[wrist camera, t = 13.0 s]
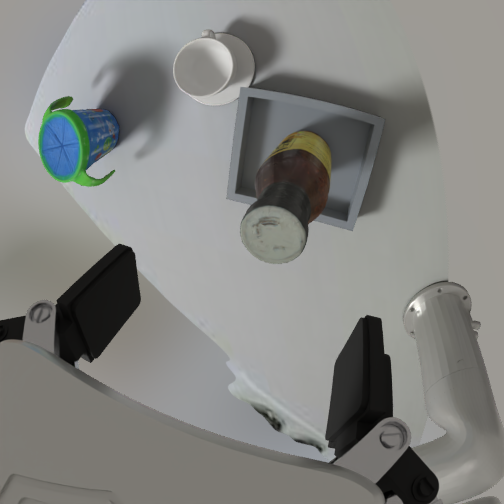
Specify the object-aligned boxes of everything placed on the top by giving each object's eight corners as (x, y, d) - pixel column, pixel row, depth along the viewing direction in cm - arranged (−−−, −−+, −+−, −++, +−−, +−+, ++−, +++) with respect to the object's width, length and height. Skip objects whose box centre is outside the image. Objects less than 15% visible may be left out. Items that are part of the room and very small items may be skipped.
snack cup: (146, 157, 39) (102, 179, 31) (105, 184, 44) (64, 209, 35) (106, 74, 33) (57, 80, 25) (70, 110, 38) (25, 123, 29)
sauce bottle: (291, 120, 31) (241, 156, 15) (340, 142, 31) (350, 205, 14) (271, 168, 35) (210, 250, 18) (317, 189, 34) (299, 291, 18)
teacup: (254, 106, 32) (243, 108, 28) (182, 106, 34) (164, 109, 30) (256, 31, 27) (246, 23, 23) (182, 37, 29) (163, 33, 25)
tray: (380, 116, 29) (385, 119, 26) (351, 219, 36) (352, 231, 33) (248, 87, 31) (240, 86, 28) (234, 189, 39) (226, 198, 36)
